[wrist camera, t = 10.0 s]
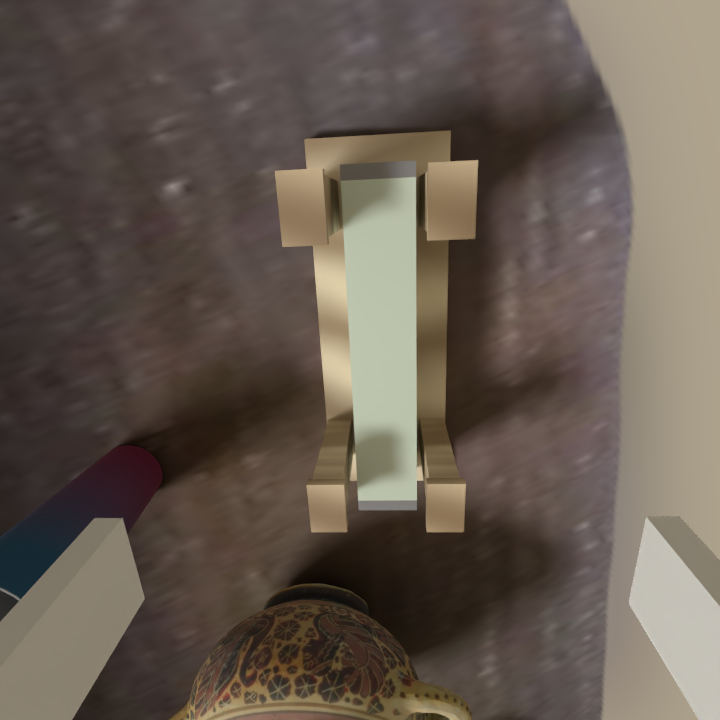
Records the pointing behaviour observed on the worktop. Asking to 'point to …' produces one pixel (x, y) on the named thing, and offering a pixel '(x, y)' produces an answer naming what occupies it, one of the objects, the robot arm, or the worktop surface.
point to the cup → (75, 517)
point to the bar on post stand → (433, 231)
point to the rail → (382, 328)
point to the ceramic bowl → (314, 667)
